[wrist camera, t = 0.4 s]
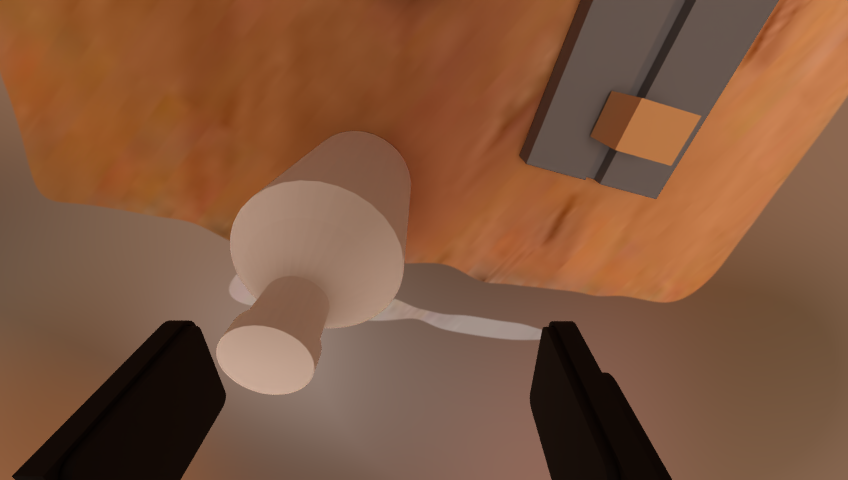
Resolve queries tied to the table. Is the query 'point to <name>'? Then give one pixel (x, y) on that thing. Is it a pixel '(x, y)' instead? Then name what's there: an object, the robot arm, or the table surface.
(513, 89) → the table surface
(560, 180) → the table surface
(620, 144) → the slider tab
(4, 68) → the table surface
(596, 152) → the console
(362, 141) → the bottle
